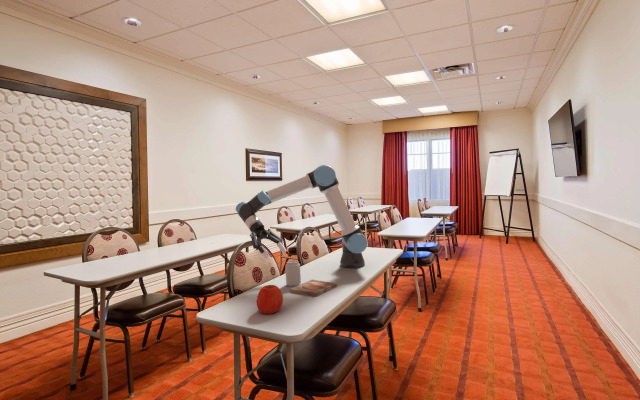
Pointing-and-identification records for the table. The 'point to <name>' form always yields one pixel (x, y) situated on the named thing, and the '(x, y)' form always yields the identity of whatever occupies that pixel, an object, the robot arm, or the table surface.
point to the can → (293, 273)
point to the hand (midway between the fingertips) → (276, 254)
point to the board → (313, 287)
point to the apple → (269, 299)
